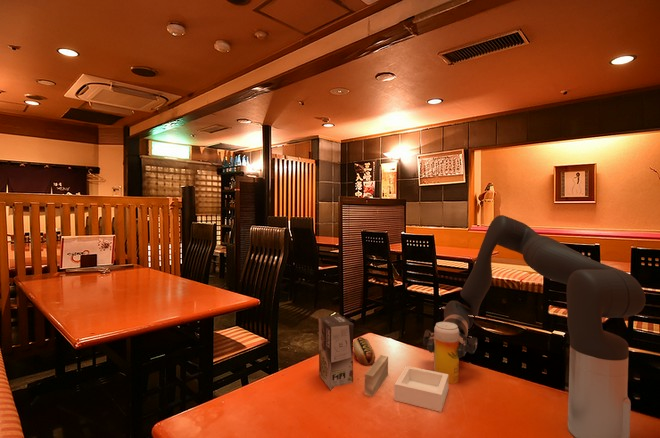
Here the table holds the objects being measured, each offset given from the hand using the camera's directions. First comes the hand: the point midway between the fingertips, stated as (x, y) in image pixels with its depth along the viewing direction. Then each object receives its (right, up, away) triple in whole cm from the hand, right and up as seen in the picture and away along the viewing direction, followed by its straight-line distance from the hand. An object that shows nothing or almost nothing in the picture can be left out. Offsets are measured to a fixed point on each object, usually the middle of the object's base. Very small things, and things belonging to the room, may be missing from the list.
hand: (445, 351), depth 90 cm
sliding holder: (-7, -8, -6) cm, 12 cm away
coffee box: (-28, -9, +3) cm, 29 cm away
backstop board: (-9, -9, -5) cm, 14 cm away
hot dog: (-19, -9, +16) cm, 26 cm away
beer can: (+1, -9, +2) cm, 9 cm away
